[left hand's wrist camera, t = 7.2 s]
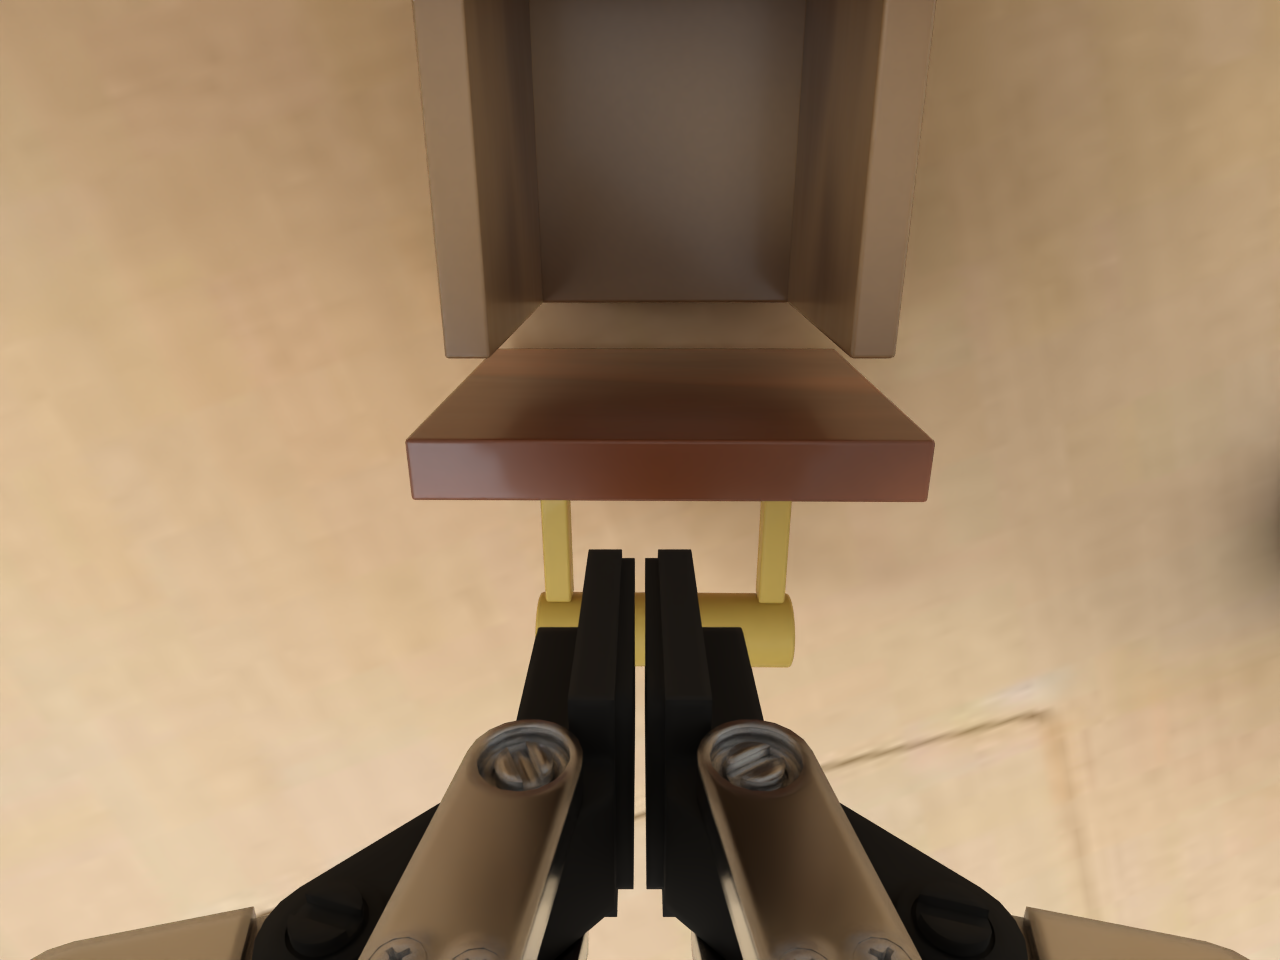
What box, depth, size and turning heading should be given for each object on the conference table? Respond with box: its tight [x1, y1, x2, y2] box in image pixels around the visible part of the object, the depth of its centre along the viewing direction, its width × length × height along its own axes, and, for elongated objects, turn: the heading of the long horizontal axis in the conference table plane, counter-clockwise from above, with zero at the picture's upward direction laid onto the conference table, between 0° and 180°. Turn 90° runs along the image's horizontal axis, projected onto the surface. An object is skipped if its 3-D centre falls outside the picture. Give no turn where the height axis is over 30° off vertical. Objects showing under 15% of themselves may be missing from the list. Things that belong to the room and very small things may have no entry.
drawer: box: [405, 0, 936, 667], centre depth 16 cm, size 23×10×8 cm, turn 0°
